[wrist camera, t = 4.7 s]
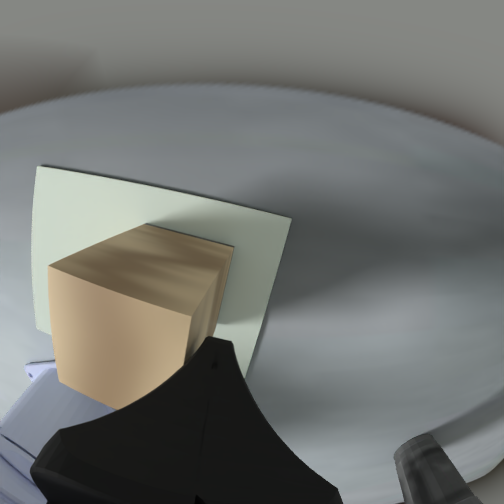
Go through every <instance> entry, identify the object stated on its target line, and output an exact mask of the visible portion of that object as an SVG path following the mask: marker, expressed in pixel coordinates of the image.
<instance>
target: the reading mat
mask: <svg viewBox="0 0 504 504" xmlns="http://www.w3.org/2000/svg"><path fill="white" fill-rule="evenodd" d="M291 220H292V219H291V218H288V217H284V216H280V215H276V214H272V213H268V212H264V211H260V210H256V209H252V208H248V207H244V206H239V205H235V204H231V203H227V202H222V201H218V200H214V199H209V198H205V197H200V196H196V195H191V194H187V193H182V192H178V191H173V190H168V189H163V188H159V187H154V186H149V185H144V184H139V183H134V182H129V181H124V180H118V179H113V178H108V177H102V176H97V175H91V174H86V173H80V172H74V171H68V170H62V169H56V168H50V167H43V166H37V172H36V180H35V189H34V200H33V214H32V239H31V260H32V286H33V300H34V311H35V320H36V328H37V329H38V330H40V331H43V332H45V333H47V334H49V335H51V336H52V332H51V323H50V311H49V296H48V265H50V264H52V263H54V262H56V261H58V260H60V259H63V258H65V257H67V256H69V255H72V254H74V253H76V252H78V251H81V250H83V249H85V248H87V247H90V246H92V245H94V244H97V243H99V242H101V241H104V240H106V239H108V238H111V237H113V236H116V235H118V234H120V233H123V232H125V231H128V230H130V229H133V228H135V227H138V226H140V225H143V224H145V223H147V224H151V225H155V226H159V227H163V228H167V229H171V230H174V231H178V232H182V233H186V234H190V235H194V236H197V237H201V238H205V239H209V240H213V241H217V242H220V243H224V244H228V245H232V246H235V247H234V251H233V256H232V260H231V264H230V268H229V273H228V277H227V281H226V286H225V290H224V294H223V299H222V303H221V307H220V312H219V316H218V321H217V325H216V329H215V332H214V334H213V337H216V338H220V339H225V340H229V341H232V343H233V344H234V349H235V354H236V358H237V361H238V364H239V367H240V370H241V372H242V375H243V377H244V379H245V376H246V373H247V370H248V367H249V364H250V360H251V357H252V354H253V351H254V347H255V344H256V341H257V338H258V334H259V331H260V328H261V324H262V321H263V318H264V314H265V311H266V308H267V304H268V301H269V298H270V294H271V291H272V287H273V284H274V280H275V277H276V273H277V270H278V266H279V263H280V259H281V256H282V252H283V249H284V245H285V242H286V238H287V234H288V231H289V227H290V223H291Z"/></svg>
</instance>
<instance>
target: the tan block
mask: <svg viewBox="0 0 504 504" xmlns="http://www.w3.org/2000/svg"><path fill="white" fill-rule="evenodd" d="M234 247H235V246H232V245H228V244H224V243H220V242H217V241H213V240H209V239H205V238H201V237H197V236H194V235H190V234H186V233H182V232H178V231H174V230H171V229H167V228H163V227H159V226H155V225H151V224H147V223H145V224H143V225H140V226H138V227H135V228H133V229H130V230H128V231H125V232H123V233H120V234H118V235H116V236H113V237H111V238H108V239H106V240H104V241H101V242H99V243H97V244H94V245H92V246H90V247H87V248H85V249H83V250H81V251H78V252H76V253H74V254H72V255H69V256H67V257H65V258H63V259H60V260H58V261H56V262H54V263H52V264H50V265H48V296H49V311H50V323H51V332H52V341H53V348H54V355H55V362H56V368H57V373H58V379H59V382H61V383H63V384H65V385H67V386H68V387H70V388H72V389H74V390H76V391H78V392H80V393H82V394H84V395H86V396H88V397H90V398H92V399H94V400H96V401H98V402H101V403H103V404H105V405H107V406H109V407H112V408H114V409H116V410H119V409H121V408H123V407H125V406H127V405H129V404H131V403H133V402H134V401H136V400H138V399H139V398H141V397H143V396H145V395H146V394H148V393H149V392H151V391H152V390H154V389H155V388H157V387H158V386H159V385H161V384H162V383H163V382H165V381H166V380H167V379H168V378H169V377H171V376H172V375H173V374H174V373H175V372H176V371H177V370H179V369H180V368H181V367H182V366H183V365H184V364H185V363H186V362H187V361H188V360H189V359H190V357H191V356H192V355H193V354H194V353H195V352H196V351H197V349H198V348H199V347H200V345H201V344H202V343H203V341H204V339H205V338H206V337H208V336H212V337H213V334H214V332H215V329H216V325H217V321H218V316H219V312H220V307H221V303H222V299H223V294H224V290H225V286H226V281H227V277H228V273H229V268H230V264H231V260H232V256H233V251H234Z"/></svg>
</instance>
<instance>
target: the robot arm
mask: <svg viewBox="0 0 504 504" xmlns="http://www.w3.org/2000/svg"><path fill="white" fill-rule="evenodd" d="M24 370H25V371H26V373H27V375H28V376H29V378H30V379H31V381H32V383H31V385H30V386H29V387H28V388H27V389H26V390H25V392H24V393H23V394H22V395H21V396H20V398H19V399H18V400H17V401H16V402H15V404H14V405H13V406H12V407H11V408H10V410H9V411H8V412H7V413H6V414H5V416H4V417H3V418H2V419H1V421H0V504H343V502H342V499H341V496H340V494H339V491H338V488H336V487H335V486H333V485H332V484H331V483H329V482H328V481H326V480H325V479H324V478H322V477H321V476H320V475H318V474H317V473H316V472H314V471H313V470H312V469H311V468H309V467H308V466H307V465H306V464H305V463H304V462H303V461H302V460H300V459H299V458H298V457H297V456H296V455H295V454H294V453H293V452H292V451H291V450H290V448H289V447H288V446H287V445H286V444H285V443H284V442H283V441H282V440H281V438H280V437H279V436H278V435H277V434H276V432H275V431H274V430H273V428H272V427H271V426H270V424H269V423H268V422H267V420H266V419H265V417H264V416H263V414H262V413H261V411H260V409H259V408H258V406H257V404H256V402H255V401H254V399H253V397H252V395H251V393H250V391H249V389H248V387H247V384H246V382H245V380H244V377H243V375H242V372H241V370H240V367H239V364H238V361H237V358H236V354H235V349H234V344H233V343H232V341H229V340H225V339H220V338H216V337H212V336H208V337H206V338H205V339H204V341H203V343H202V344H201V345H200V347H199V348H198V349H197V351H196V352H195V353H194V354H193V355H192V356H191V357H190V359H189V360H188V361H187V362H186V363H185V364H184V365H183V366H182V367H181V368H180V369H179V370H177V371H176V372H175V373H174V374H173V375H172V376H171V377H169V378H168V379H167V380H166V381H165V382H163V383H162V384H161V385H159V386H158V387H157V388H155V389H154V390H152V391H151V392H149V393H148V394H146V395H145V396H143V397H141V398H139V399H138V400H136V401H134V402H133V403H131V404H129V405H127V406H125V407H123V408H121V409H119V410H115V409H114V408H112V407H109V406H107V405H105V404H103V403H101V402H98V401H96V400H94V399H92V398H90V397H88V396H86V395H84V394H82V393H80V392H78V391H76V390H74V389H72V388H70V387H68V386H67V385H65V384H63V383H61V382H59V379H58V373H57V368H56V362H55V361H52V362H42V363H31V364H26V365H25V366H24Z"/></svg>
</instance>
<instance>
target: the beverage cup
mask: <svg viewBox="0 0 504 504" xmlns="http://www.w3.org/2000/svg"><path fill="white" fill-rule="evenodd" d="M394 459H395V464H396V470H397V474H398V478H399V482H400V485H401V489H402V493H403V497H404V502H405V504H483V503H482V502H481V501H480V500H479V499H478V497H476V496H474V494H473V493H472V492H471V490H470V488H469V487H468V485H467V484H466V482H465V481H464V479H463V478H462V476H461V475H460V474H459V472H458V471H457V469H456V468H455V466H454V465H453V463H452V462H451V461H450V459H449V458H448V456H447V455H446V453H445V452H444V451H443V449H442V448H441V446H440V445H439V444H438V443H437V442H436V441H435V440H434V438H433V436H431V435H430V434H424V435H420V436H417V437H415V438H413V439H411V440H409V441H407V442H406V443H405V444H403V445H402V446H401V447H400V448H399V449H398V450H397V451H396V452H395V454H394Z"/></svg>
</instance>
